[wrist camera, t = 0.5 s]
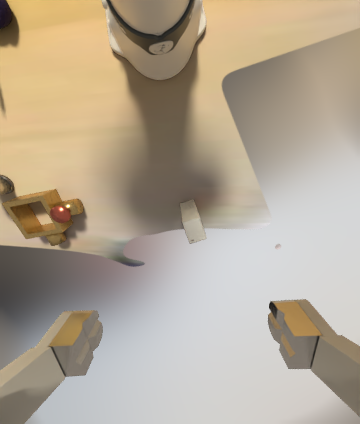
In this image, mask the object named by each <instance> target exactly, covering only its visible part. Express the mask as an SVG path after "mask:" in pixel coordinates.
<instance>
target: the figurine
mask: <svg viewBox="0 0 360 424" xmlns="http://www.w3.org/2000/svg"><path fill="white" fill-rule="evenodd" d="M11 17H12V15H11V9H10V7H9V5H8V3H7V2H6V0H0V29H1V28H3V27H5V26H7V25H8V24H9V23H10V22H11Z"/></svg>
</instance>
